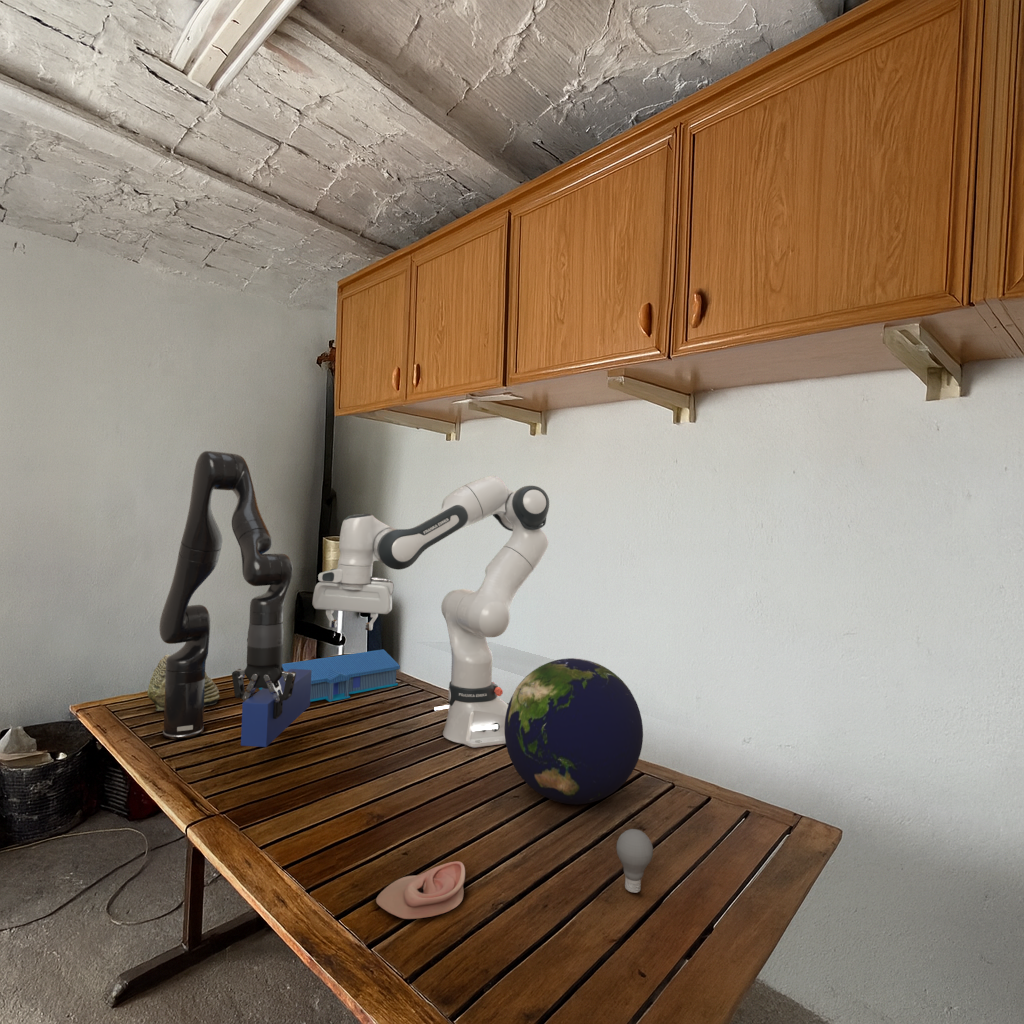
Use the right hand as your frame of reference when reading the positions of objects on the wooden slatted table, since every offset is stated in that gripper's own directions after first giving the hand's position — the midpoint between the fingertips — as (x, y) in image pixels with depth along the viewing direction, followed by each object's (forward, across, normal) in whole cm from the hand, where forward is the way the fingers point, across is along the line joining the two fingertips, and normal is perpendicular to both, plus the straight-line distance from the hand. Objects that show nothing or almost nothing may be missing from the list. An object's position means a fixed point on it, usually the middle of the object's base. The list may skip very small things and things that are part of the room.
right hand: (351, 628), depth 165 cm
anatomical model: (+30, -31, +62) cm, 76 cm away
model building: (+29, +16, -43) cm, 54 cm away
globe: (+28, -57, +25) cm, 69 cm away
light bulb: (+28, -66, +57) cm, 92 cm away
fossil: (+30, +53, -19) cm, 64 cm away
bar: (+22, +12, +13) cm, 28 cm away
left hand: (+17, +12, +22) cm, 31 cm away
